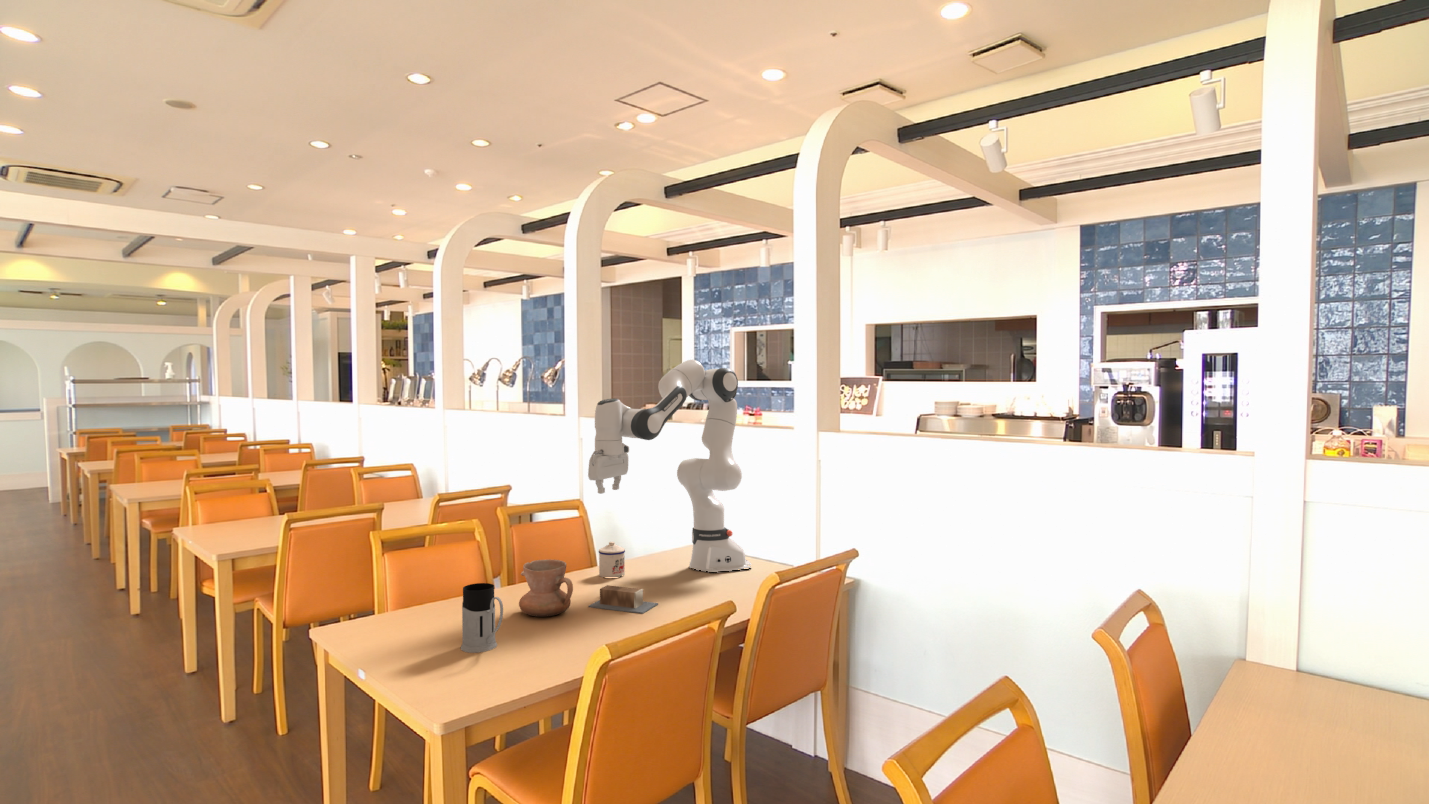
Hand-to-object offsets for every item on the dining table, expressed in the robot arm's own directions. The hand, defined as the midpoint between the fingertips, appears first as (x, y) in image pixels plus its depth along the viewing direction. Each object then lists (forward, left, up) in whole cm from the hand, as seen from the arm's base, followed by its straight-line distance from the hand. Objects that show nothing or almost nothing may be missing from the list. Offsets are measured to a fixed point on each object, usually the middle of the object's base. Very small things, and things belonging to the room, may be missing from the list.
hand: (608, 491), depth 244 cm
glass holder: (+31, +54, -31) cm, 70 cm away
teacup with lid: (-2, -16, -31) cm, 35 cm away
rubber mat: (-4, +22, -31) cm, 38 cm away
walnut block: (+2, +18, -28) cm, 34 cm away
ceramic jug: (+18, +26, -31) cm, 44 cm away
